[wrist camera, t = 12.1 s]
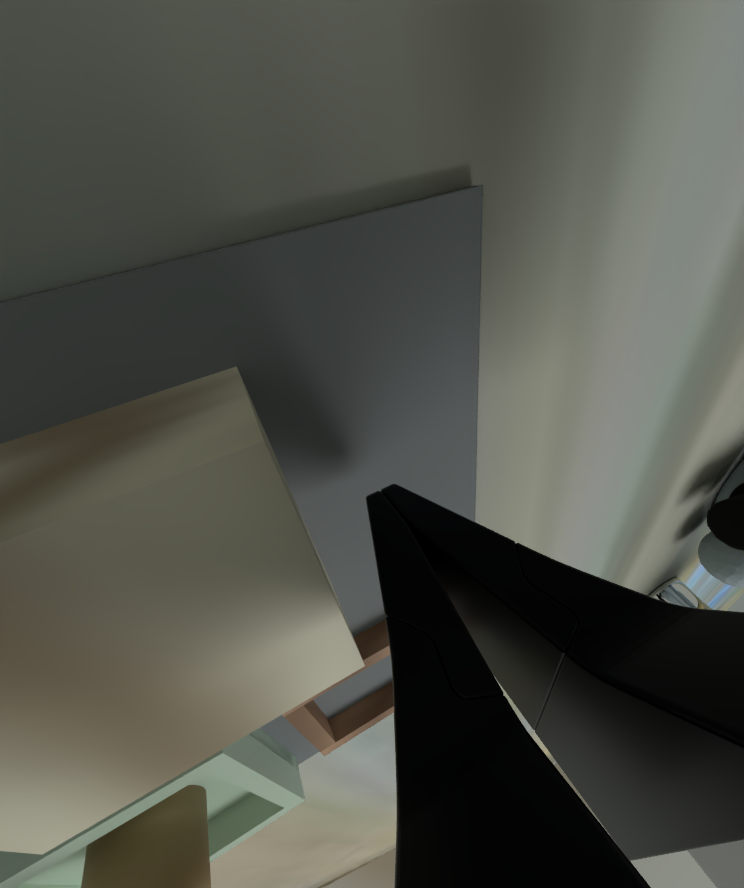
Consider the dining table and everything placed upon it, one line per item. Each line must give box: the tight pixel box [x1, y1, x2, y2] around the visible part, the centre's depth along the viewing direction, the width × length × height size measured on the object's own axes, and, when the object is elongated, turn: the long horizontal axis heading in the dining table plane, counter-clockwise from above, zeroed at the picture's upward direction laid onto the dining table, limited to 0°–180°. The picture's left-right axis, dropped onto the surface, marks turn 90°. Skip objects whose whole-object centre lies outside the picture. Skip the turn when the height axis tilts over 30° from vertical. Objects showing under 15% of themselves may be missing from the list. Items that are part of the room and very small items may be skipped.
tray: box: [0, 728, 305, 888], centre depth 14 cm, size 10×10×2 cm
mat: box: [0, 185, 483, 764], centre depth 12 cm, size 24×24×1 cm
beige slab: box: [0, 366, 365, 855], centre depth 8 cm, size 8×8×3 cm
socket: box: [282, 620, 394, 756], centre depth 17 cm, size 7×7×1 cm
